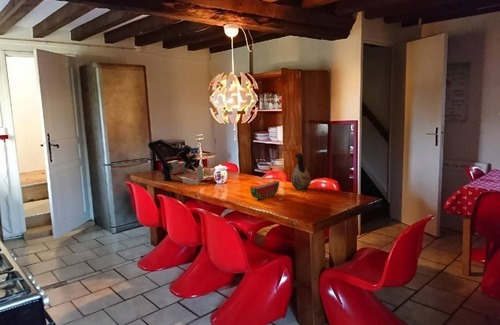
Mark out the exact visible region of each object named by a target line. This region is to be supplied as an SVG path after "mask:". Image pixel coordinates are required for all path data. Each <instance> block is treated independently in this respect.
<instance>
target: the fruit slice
mask: <svg viewBox="0 0 500 325" xmlns="http://www.w3.org/2000/svg"><path fill="white" fill-rule="evenodd" d="M279 187H280V181H279V180H273V181H272V182H269V183H266V184H261V185H258V186H254V187H253V186H252V187H249V190H250V195H251V197H252V198H255V199H258V200H264V199H263V198H267V197H269V198H271V197H273V196H275V194H277V193H278V190H279ZM267 199H268V198H267Z"/></svg>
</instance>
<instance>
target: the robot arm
mask: <svg viewBox="0 0 500 325" xmlns="http://www.w3.org/2000/svg"><path fill="white" fill-rule="evenodd" d="M159 145H160V146H162V147H165V148H166V149H168V150H170V151H171V153H173V154H175V155H176V156H177V159H179V158H180V159H181V160H182V162H185V163H186V164H185V165H184V167H185V168H186V170H190V171H194V172H196V171H197V167H199V166H200V165H199V164H198V159H197V154H196V153H192V155H191V156H189V154H190V153H191V151H192V150H193V148H192V147H191V146H190V145H188V144H186V145H184V147H183V148H182V147H181V146H178V145H173V144H171V143H169V142H167V141H165V140H163V139H158V140H156V141H150V142H148V145H147V148H149V149H150V151H152V152H154V154H155V156H156V157H157V158H158V160H159V161H160V163H161V165H162V169H163V170H162V171H161V174H162V175H163V179H162V181H166V182H168V181H171V180H173V178H172V177H171V176H172V175H170V173H171V171H172V170H173V167H172V165H171V163H168V162H169V161H167V160H166V158H165V156H164V154H162V152H161V151H160V149H159Z"/></svg>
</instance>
